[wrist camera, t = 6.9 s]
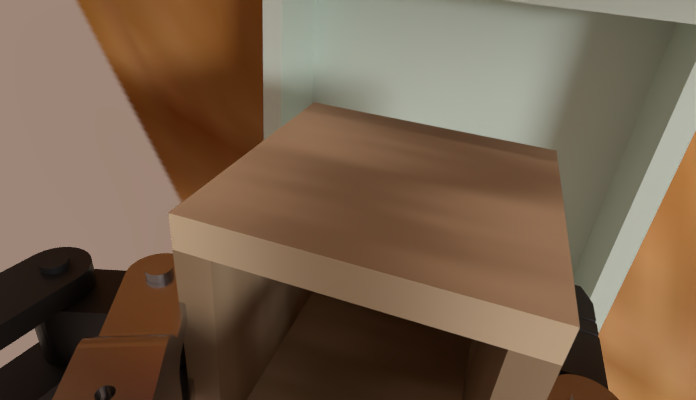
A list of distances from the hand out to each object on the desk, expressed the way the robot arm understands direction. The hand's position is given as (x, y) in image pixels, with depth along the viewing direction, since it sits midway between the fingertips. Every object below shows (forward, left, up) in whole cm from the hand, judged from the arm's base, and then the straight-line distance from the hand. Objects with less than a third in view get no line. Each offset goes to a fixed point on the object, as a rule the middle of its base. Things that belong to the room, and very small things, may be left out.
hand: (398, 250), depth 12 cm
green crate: (0, 0, -8) cm, 8 cm away
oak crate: (0, 0, -1) cm, 1 cm away
